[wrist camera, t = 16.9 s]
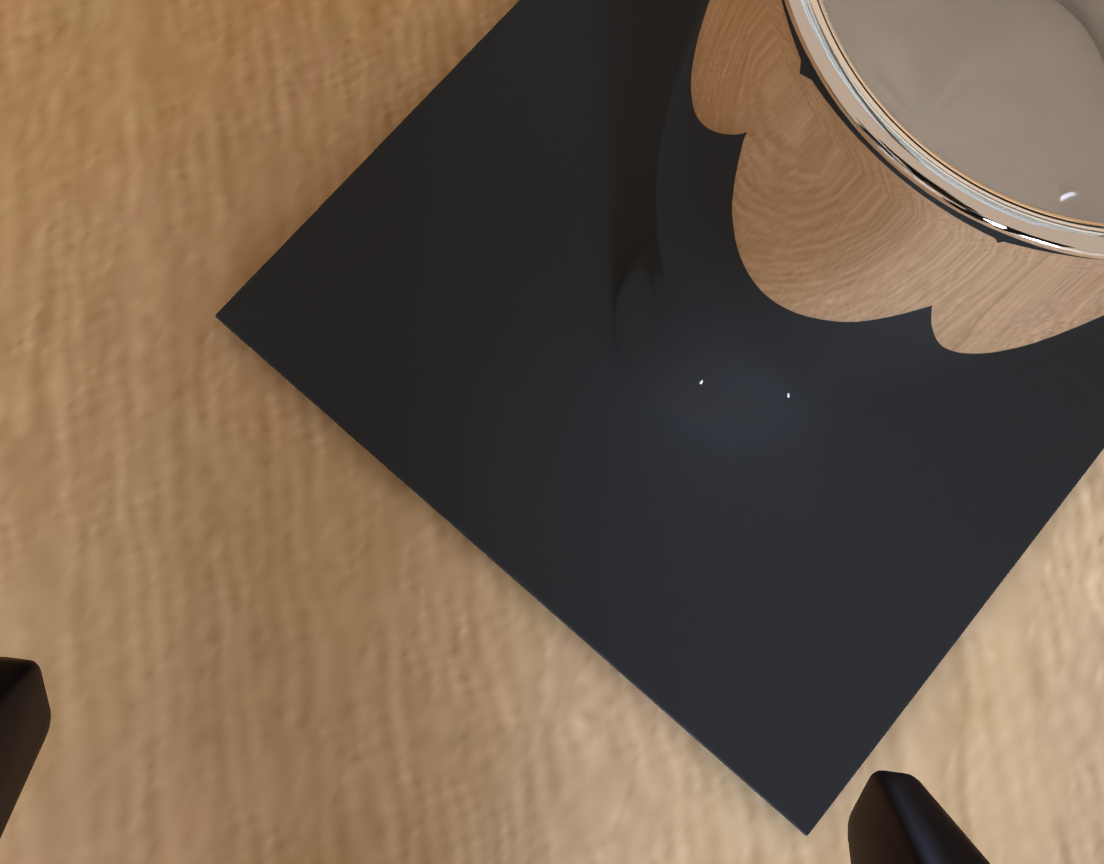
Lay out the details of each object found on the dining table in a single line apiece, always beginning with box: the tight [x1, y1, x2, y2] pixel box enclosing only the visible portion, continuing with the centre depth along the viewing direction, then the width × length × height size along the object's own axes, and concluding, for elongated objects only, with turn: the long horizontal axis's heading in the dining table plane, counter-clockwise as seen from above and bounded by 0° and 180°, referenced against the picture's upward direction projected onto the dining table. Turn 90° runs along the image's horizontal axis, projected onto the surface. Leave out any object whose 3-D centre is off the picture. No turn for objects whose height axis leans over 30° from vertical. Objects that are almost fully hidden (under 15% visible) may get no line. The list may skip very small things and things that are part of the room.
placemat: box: [216, 0, 1104, 836], centre depth 23 cm, size 20×20×1 cm
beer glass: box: [614, 0, 1104, 436], centre depth 16 cm, size 7×7×15 cm
